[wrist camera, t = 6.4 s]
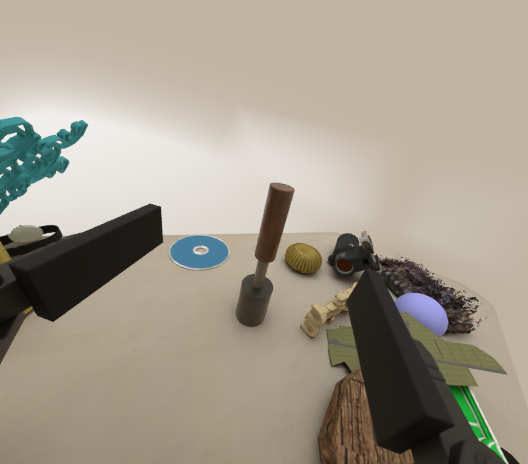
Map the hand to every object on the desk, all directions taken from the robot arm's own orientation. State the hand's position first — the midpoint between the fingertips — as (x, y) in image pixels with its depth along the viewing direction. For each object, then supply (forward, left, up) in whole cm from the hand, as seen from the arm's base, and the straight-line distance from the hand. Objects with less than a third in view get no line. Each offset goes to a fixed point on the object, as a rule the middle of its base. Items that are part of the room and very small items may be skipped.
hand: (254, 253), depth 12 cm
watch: (+38, +5, -18) cm, 43 cm away
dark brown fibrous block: (-20, -37, -18) cm, 46 cm away
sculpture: (-2, -24, -16) cm, 29 cm away
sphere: (-20, -21, -15) cm, 32 cm away
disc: (+14, -12, -18) cm, 26 cm away
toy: (-5, -11, -15) cm, 20 cm away
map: (-16, -16, -15) cm, 27 cm away
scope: (-10, -35, -10) cm, 38 cm away
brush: (+3, -9, -18) cm, 20 cm away
